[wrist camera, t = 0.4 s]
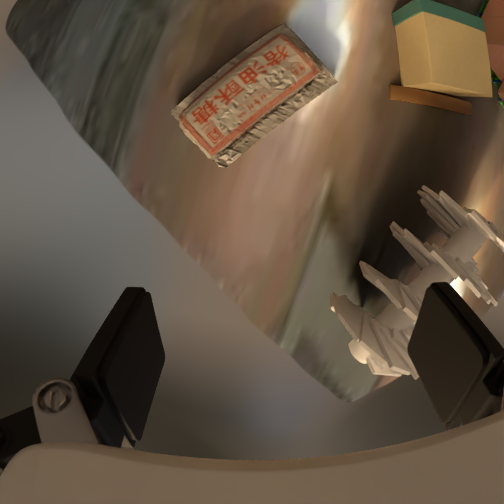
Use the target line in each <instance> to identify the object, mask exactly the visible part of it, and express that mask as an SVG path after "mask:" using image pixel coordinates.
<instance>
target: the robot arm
mask: <svg viewBox="0 0 504 504" xmlns="http://www.w3.org/2000/svg"><path fill="white" fill-rule="evenodd" d="M407 351H408V355H409V357H410V359H411V361H412V363H413V365H414V367H415V369H416V371H417V373H418V375H419V377H420V379H421V381H422V383H423V385H424V387H425V389H426V391H427V393H428V396H429V398H430V400H431V402H432V404H433V406H434V409H435V411H436V413H437V415H438V418H439V420H440V422H441V423H444V424H445V427H446V429H447V431H445V432H442V433H439V434H436V435H432V436H429V437H425V438H422V439H418V440H414V441H410V442H406V443H401V444H397V445H392V446H388V447H383V448H378V449H373V450H367V451H362V452H355V453H348V454H341V455H333V456H324V457H314V458H302V459H285V460H220V459H204V458H192V457H182V456H172V455H163V454H156V453H149V452H142V451H136V450H130V449H124V448H121V446H123V447H128V448H133V449H134V445H135V442H136V440H137V441H139V440H140V439H141V437H142V434H143V431H144V428H145V424H146V420H147V417H148V413H149V410H150V407H151V404H152V400H153V397H154V394H155V390H156V387H157V384H158V381H159V378H160V374H161V371H162V368H163V365H164V362H165V353H164V348H163V345H162V341H161V337H160V333H159V329H158V324H157V320H156V316H155V312H154V307H153V303H152V298H151V294H150V293H149V292H146V291H145V289H144V288H142V287H127V288H126V289H125V290H124V291H123V293H122V294H121V296H120V298H119V299H118V301H117V302H116V304H115V305H114V307H113V309H112V310H111V312H110V313H109V315H108V316H107V318H106V319H105V321H104V323H103V324H102V326H101V328H100V329H99V331H98V332H97V334H96V336H95V337H94V339H93V340H92V342H91V344H90V345H89V347H88V349H87V351H86V353H85V354H84V356H83V358H82V359H81V361H80V363H79V364H78V366H77V368H76V370H75V371H74V373H73V375H72V377H71V379H70V380H68V379H65V378H53V379H49V380H47V381H45V382H43V383H42V384H41V385H40V386H39V387H38V388H37V389H36V391H35V392H34V396H33V406H31V407H29V408H26V409H24V410H22V411H20V412H17V413H15V414H12V415H10V416H8V417H5V418H3V419H0V504H504V362H503V360H504V349H503V347H502V346H501V345H500V343H499V342H498V341H497V340H496V338H495V337H494V336H493V335H492V333H491V332H490V331H489V330H488V328H487V327H486V326H485V325H484V323H483V322H482V321H481V320H480V319H479V317H478V316H477V315H476V314H475V313H474V311H473V310H472V309H471V308H470V307H469V306H468V304H467V303H466V302H465V301H464V300H463V299H462V298H461V296H460V295H459V294H458V293H457V292H456V291H455V290H454V289H453V288H452V286H451V285H450V284H449V283H447V282H433V283H431V285H430V287H428V288H427V289H426V292H425V295H424V298H423V302H422V305H421V308H420V311H419V314H418V317H417V320H416V323H415V326H414V329H413V332H412V335H411V338H410V341H409V343H408V347H407ZM461 423H462V425H463V426H461V427H459V426H460V425H461ZM457 427H458V428H457ZM454 428H455V429H454ZM451 429H452V430H451ZM448 430H449V431H448Z"/></svg>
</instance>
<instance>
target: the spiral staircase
mask: <svg viewBox="0 0 504 504" xmlns="http://www.w3.org/2000/svg"><path fill="white" fill-rule="evenodd" d="M422 189H423V190H424V191H425V192H426V193H425V192H423V191H421V190H418V191H417V193H418V194H419V195H420V196H421V197H422V198H421V199H420V202H421V204H422V205H423V206H424V207H425V208H426V209H427V210H428V211H427V212H426V213H427V214H428V215H429V216H430V217H431V218H432V219H433V220H434V221H435V223H436V224H437V225H438V226H439V227H440V228H442V229H443V230H444V231H443V230H442V229H441V230H440V232H441V233H442V234H443V235H444V237H445V238H446V239H447V240H448V241H447V242H446V243H445V244H444V246H443V247H442V248H441V249H439V248H438V247H437V246H436V245H435V244H434V243H433V244H432V245H430V244H429V243H428V242H427V241H426V242H425V243H424V244H423V243H422V242H421V241H420V240H419V239H418V238H417V237H415V236H414V235H413V234H412V233H411V232H409V231H408V230H407V229H406V228H405V229H404V230H403V229H402V228H401V227H400V226H399V225H398V224H396V223H395V222H394V221H393V222H392V223H391V225H390V229H391V231H392V232H393V234H392V235H393V236H394V237H395V238H396V239H397V240H398V241H399V242H400V243H401V244H402V246H403V247H404V248H405V249H406V250H407V251H408V253H409V254H410V255H411V256H412V257H413V258H414V260H415V261H416V262H417V264H418V266H419V268H420V269H421V272H420V273H419V274H418V275H417V276H416V277H415V279H414V280H413V281H412V282H411V283H410V284H409V285H408V286H407V285H403V284H402V283H401V282H400V281H398V280H396V279H389V278H388V277H386V276H385V275H383V274H382V273H380V272H379V271H377V270H376V269H374V268H373V267H372V266H371V265H368V264H367V263H365V262H363V261H362V260H361V261H360V262H359V265H360V268H361V270H362V273H363V276H364V277H365V278H366V279H367V280H368V281H370V282H371V283H372V284H373V285H375V286H376V287H377V288H379V289H380V290H381V291H382V292H384V293H385V294H386V296H387V297H388V298H389V299H390V300H391V302H392V303H391V304H390V305H389V306H388V307H387V308H386V309H385V310H384V311H383V312H382V313H381V314H380V315H378V316H377V317H376V318H375V319H373V318H372V317H371V315H369V314H368V313H367V312H366V311H365V310H364V309H363V308H362V307H360V306H357V305H355V304H353V303H352V302H351V301H350V300H349V299H348V298H347V296H346V295H343V296H341V297H339V296H338V295H336V294H335V293H334V292H332V293H331V294H330V309H331V310H333V311H334V312H335V313H336V315H337V317H338V318H339V319H340V321H341V322H342V323H343V325H344V326H345V327H346V329H347V330H348V331H349V333H350V334H351V336H352V337H353V338H354V339H353V340H352V341H351V342H350V343H349V349H350V352H351V353H352V355H353V356H354V357H355V358H356V359H357V360H358V361H359V362H361V363H364V364H366V363H367V364H368V366H369V368H370V370H371V372H372V374H378V375H389V376H401V375H402V374H401V373H403V374H406V375H409V374H410V373H411V374H412V376H413V378H414V379H415V380H416V379H417V378H418V377H419V375H418V373H417V371H416V369H415V367H414V365H413V363H412V361H411V359H410V357H409V355H408V351H407V347H408V343H409V341H410V338H411V335H412V332H413V329H414V326H415V323H416V320H417V317H418V314H419V311H420V308H421V305H422V302H423V298H424V295H425V292H426V289H427V288H428V287H430V285H431V283H433V282H447V283H449V284H450V283H451V282H452V281H453V280H454V279H456V278H457V277H458V275H459V277H460V278H461V279H462V280H463V281H464V282H465V283H466V285H467V286H468V287H469V288H470V289H471V290H472V291H473V292H474V294H475V295H476V296H477V297H478V298H479V297H480V296H482V298H483V299H484V300H485V301H486V302H487V304H489V303H490V302H492V303H493V304H494V306H497V305H498V303H497V302H496V301H495V300H494V298H493V297H492V296H491V295H490V293H489V292H488V291H487V289H488V288H487V286H486V285H485V284H484V282H483V281H482V279H481V278H480V277H479V276H478V274H477V273H476V272H477V271H478V269H477V268H476V265H477V263H476V262H475V261H474V259H473V256H474V255H475V254H476V253H477V251H478V250H479V249H480V248H481V246H482V245H483V244H484V243H485V241H486V240H487V239H488V238H489V239H490V240H491V241H493V242H494V243H495V244H496V245H497V246H498V247H499V248H500V249H501V250H502V251H503V252H504V237H503V236H502V234H501V233H500V232H499V231H498V229H497V228H496V227H495V226H494V225H493V223H492V222H489V221H487V220H486V219H485V218H484V217H483V216H482V215H481V214H480V213H478V212H477V211H476V210H474V209H472V210H471V209H467V208H466V207H464V208H462V207H460V206H459V205H458V204H457V203H456V202H455V201H454V200H453V199H451V198H450V197H449V196H448V195H447V194H446V193H444V192H443V191H442V190H441V191H440V193H439V194H440V196H439V195H438V194H436V193H435V192H433V191H432V190H430V189H429V188H427V187H426V186H424V185H423V186H422ZM437 252H438V253H437Z"/></svg>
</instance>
